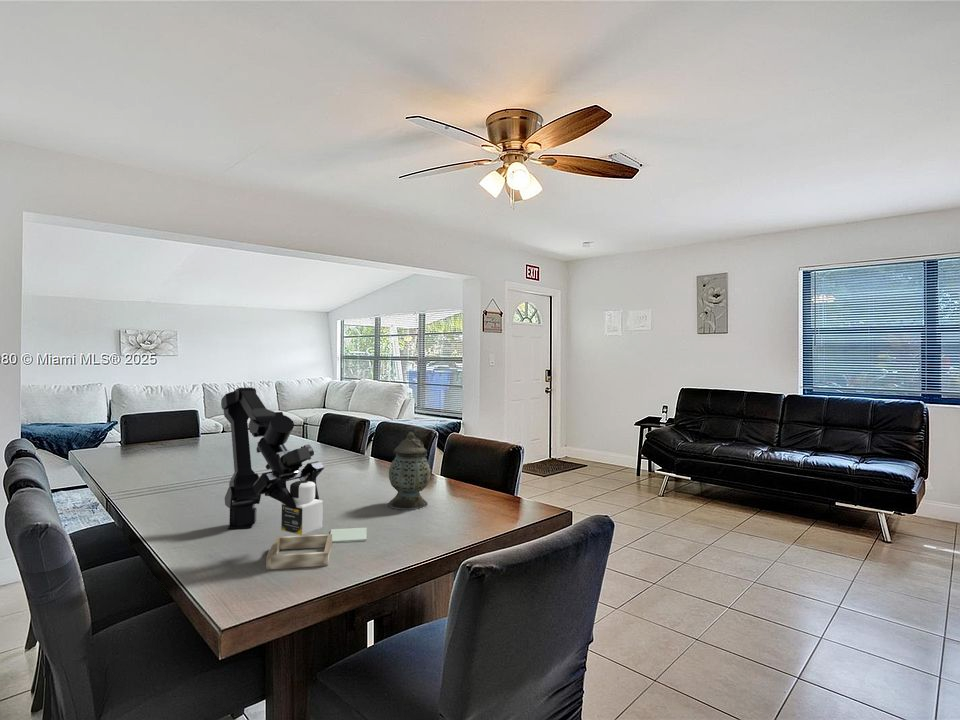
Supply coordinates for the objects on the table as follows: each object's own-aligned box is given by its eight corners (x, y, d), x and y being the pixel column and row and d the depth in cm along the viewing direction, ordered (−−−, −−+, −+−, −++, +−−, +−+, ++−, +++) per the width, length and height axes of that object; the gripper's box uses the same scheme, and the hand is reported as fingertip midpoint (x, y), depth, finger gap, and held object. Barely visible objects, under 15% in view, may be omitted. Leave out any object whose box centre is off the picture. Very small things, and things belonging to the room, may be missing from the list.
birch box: (266, 569, 125) (266, 556, 125) (276, 548, 138) (276, 536, 138) (327, 565, 128) (328, 553, 128) (331, 545, 141) (332, 534, 141)
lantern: (409, 497, 191) (410, 427, 191) (438, 504, 182) (439, 432, 182) (379, 505, 180) (380, 431, 180) (408, 513, 171) (409, 436, 171)
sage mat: (328, 542, 143) (328, 541, 143) (331, 530, 153) (331, 529, 153) (366, 540, 145) (366, 539, 145) (366, 529, 155) (366, 527, 155)
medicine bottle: (280, 531, 132) (281, 483, 132) (302, 523, 138) (303, 477, 138) (301, 536, 128) (302, 486, 128) (322, 528, 135) (323, 481, 135)
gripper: (262, 440, 127) (294, 493, 122) (319, 431, 143) (350, 477, 138) (239, 469, 131) (269, 521, 125) (298, 456, 147) (327, 502, 142)
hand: (306, 504), depth 133 cm, fingers closed on medicine bottle, 7 cm apart
